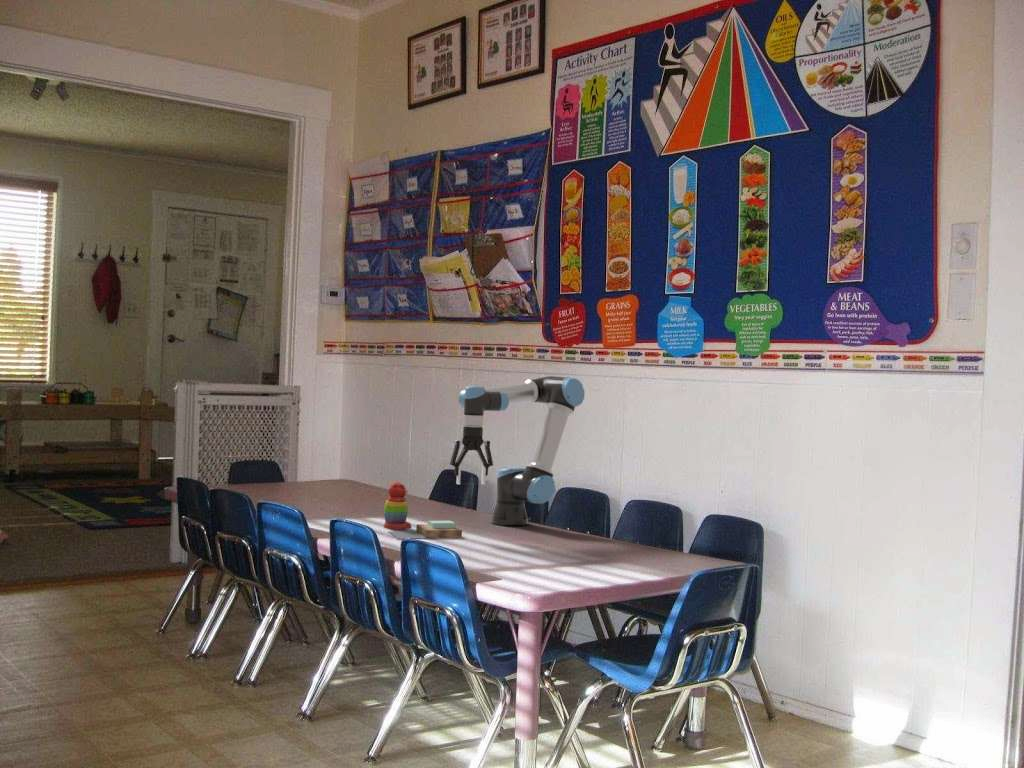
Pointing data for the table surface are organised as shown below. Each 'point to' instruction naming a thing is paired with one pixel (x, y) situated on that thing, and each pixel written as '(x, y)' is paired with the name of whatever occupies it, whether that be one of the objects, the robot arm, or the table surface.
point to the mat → (406, 534)
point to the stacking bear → (396, 508)
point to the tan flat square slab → (438, 532)
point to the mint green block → (441, 524)
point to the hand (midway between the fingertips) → (470, 484)
